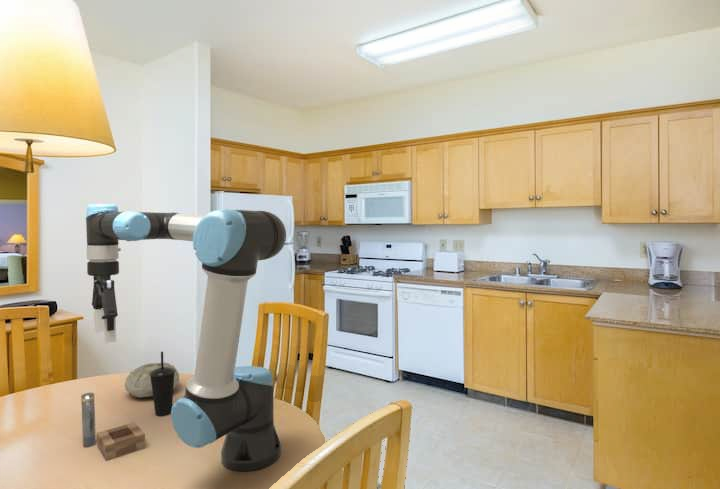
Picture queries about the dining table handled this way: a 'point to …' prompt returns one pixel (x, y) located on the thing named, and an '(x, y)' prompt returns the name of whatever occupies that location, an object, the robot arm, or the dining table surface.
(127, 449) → the square wooden frame
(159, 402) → the drinking cup
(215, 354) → the robot arm
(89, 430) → the metal cylinder
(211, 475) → the dining table surface
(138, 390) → the grey rounded lump
